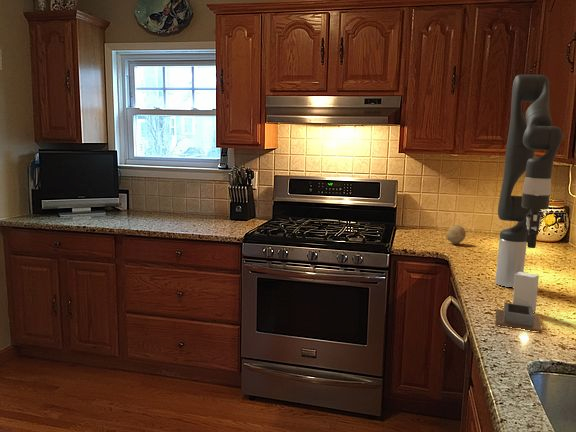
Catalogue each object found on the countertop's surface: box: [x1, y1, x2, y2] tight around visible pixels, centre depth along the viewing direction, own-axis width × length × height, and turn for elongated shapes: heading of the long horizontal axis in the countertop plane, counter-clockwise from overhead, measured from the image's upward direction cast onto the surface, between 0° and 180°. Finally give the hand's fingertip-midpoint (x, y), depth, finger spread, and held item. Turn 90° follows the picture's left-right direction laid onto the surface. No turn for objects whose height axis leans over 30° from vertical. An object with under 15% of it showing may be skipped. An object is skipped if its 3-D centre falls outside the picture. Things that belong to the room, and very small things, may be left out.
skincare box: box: [512, 272, 539, 313], centre depth 161 cm, size 6×4×12 cm
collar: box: [494, 302, 543, 333], centre depth 152 cm, size 13×12×4 cm
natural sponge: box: [446, 224, 466, 245], centre depth 260 cm, size 9×9×10 cm
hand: (530, 245), depth 159 cm, fingers open, 8 cm apart
